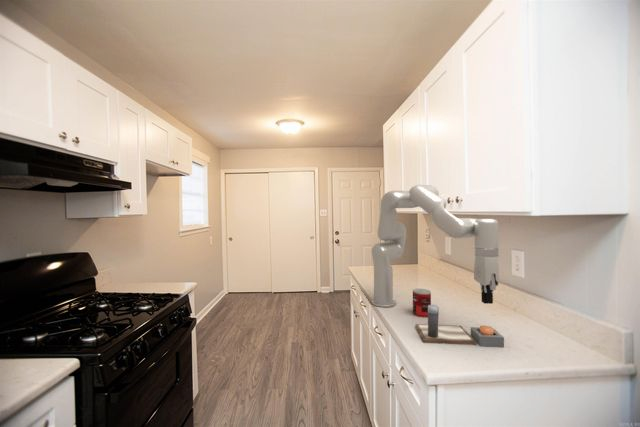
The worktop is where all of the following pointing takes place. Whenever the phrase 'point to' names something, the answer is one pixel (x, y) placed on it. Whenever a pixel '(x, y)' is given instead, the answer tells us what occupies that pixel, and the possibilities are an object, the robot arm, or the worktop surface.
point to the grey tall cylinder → (433, 321)
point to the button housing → (487, 338)
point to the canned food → (421, 302)
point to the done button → (486, 330)
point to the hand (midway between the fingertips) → (487, 302)
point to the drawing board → (446, 335)
